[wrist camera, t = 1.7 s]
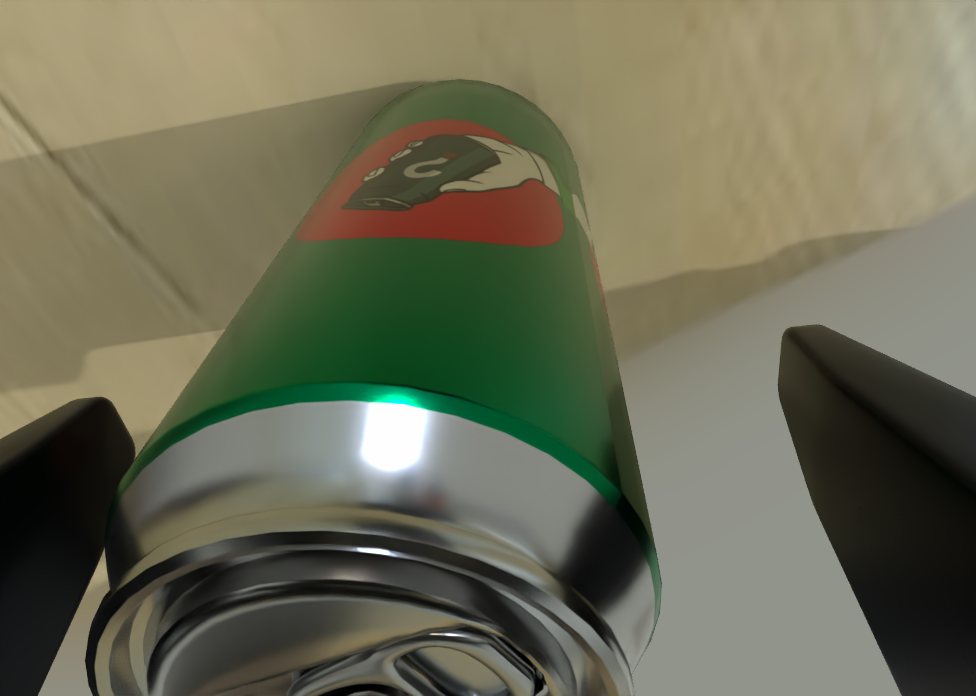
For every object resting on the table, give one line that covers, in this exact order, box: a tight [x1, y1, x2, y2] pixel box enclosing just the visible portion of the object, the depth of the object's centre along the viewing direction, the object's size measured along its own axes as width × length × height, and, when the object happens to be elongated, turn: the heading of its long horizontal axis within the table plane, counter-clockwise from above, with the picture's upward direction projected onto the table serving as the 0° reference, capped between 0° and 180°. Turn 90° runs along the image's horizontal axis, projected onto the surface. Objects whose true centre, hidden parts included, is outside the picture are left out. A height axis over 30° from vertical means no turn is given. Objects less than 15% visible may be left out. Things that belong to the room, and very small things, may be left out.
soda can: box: [85, 79, 662, 696], centre depth 11 cm, size 5×5×12 cm
